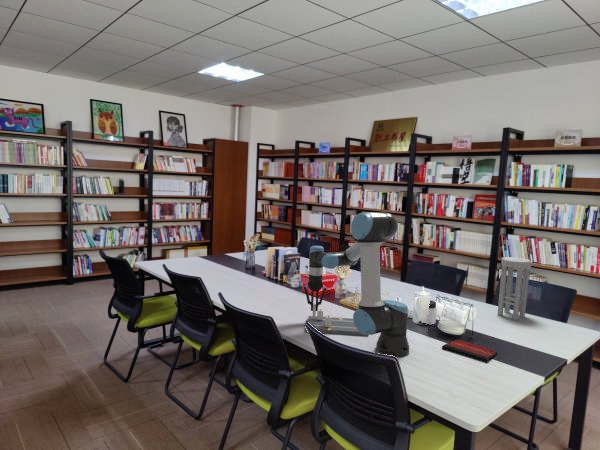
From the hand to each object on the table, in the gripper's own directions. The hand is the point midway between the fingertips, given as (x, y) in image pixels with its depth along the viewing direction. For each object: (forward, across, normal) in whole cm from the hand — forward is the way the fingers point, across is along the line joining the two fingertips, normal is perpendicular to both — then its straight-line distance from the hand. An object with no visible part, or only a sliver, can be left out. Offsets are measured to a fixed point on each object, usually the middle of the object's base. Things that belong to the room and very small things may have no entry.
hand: (314, 316), depth 229 cm
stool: (+4, -119, -35) cm, 124 cm away
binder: (+5, -76, +25) cm, 80 cm away
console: (+4, -13, +5) cm, 14 cm away
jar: (+4, -64, -13) cm, 65 cm away
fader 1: (+1, -3, 0) cm, 4 cm away
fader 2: (+1, -8, +10) cm, 13 cm away
